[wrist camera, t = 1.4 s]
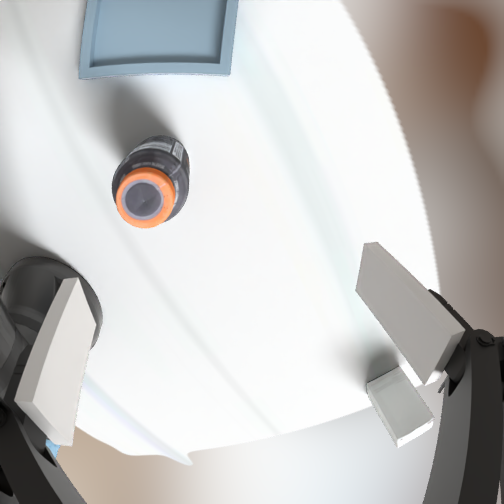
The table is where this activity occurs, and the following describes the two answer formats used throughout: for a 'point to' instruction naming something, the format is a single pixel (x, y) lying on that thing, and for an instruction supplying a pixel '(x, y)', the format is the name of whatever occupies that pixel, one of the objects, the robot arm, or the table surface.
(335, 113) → the table surface
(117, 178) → the pill bottle
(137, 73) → the tray
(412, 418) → the skincare box
